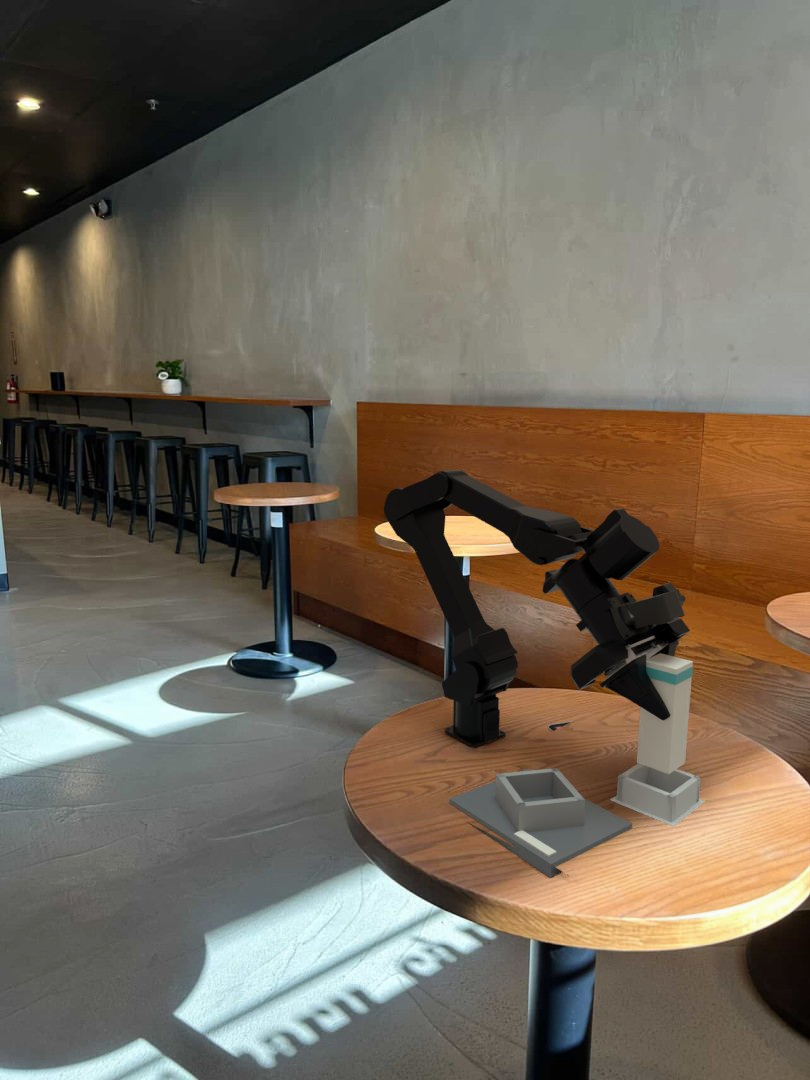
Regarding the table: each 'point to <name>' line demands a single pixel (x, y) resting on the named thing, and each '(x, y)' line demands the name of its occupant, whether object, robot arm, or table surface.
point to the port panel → (550, 837)
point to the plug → (667, 737)
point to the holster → (659, 793)
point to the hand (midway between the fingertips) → (676, 713)
